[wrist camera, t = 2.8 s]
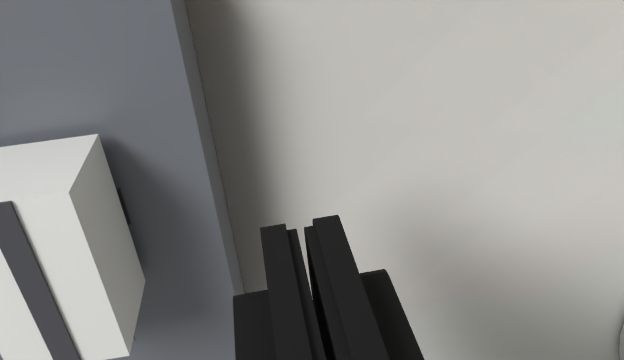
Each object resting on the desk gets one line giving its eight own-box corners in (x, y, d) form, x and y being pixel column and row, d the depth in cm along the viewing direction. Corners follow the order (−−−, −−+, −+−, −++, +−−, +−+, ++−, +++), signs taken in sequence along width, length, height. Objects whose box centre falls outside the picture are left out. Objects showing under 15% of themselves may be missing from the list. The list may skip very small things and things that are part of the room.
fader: (98, 133, 14) (67, 195, 12) (145, 280, 17) (129, 358, 14) (-20, 150, 14) (-79, 215, 11) (45, 295, 17) (10, 377, 14)
